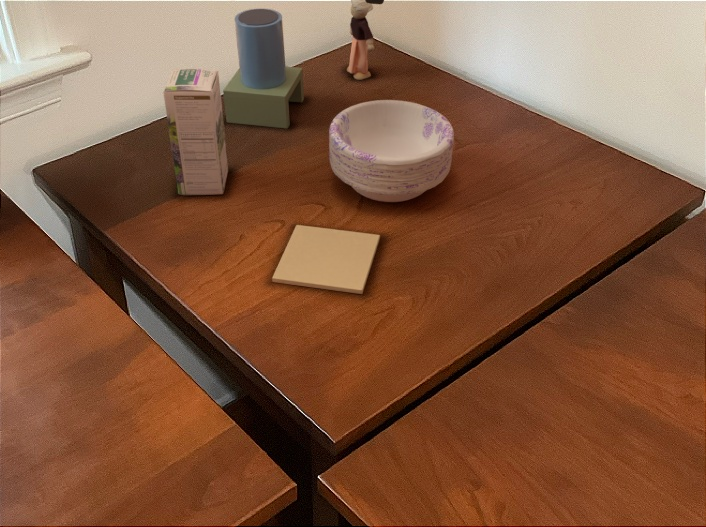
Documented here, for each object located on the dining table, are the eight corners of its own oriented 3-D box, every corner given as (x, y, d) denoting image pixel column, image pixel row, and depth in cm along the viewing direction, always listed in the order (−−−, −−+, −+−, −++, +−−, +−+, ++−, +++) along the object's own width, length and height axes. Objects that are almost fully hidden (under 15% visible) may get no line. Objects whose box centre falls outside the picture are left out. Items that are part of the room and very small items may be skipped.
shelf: (226, 122, 116) (222, 90, 113) (246, 93, 123) (243, 62, 120) (287, 128, 115) (285, 96, 112) (304, 99, 122) (302, 67, 119)
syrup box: (185, 171, 106) (168, 67, 97) (230, 170, 106) (218, 67, 97) (178, 196, 102) (160, 90, 93) (225, 195, 102) (212, 89, 93)
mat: (272, 282, 89) (271, 278, 88) (296, 228, 96) (296, 224, 96) (362, 294, 87) (362, 290, 87) (380, 238, 95) (380, 234, 94)
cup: (234, 87, 114) (227, 24, 108) (249, 67, 119) (243, 6, 113) (278, 91, 113) (274, 28, 107) (291, 71, 118) (287, 9, 112)
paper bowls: (475, 187, 103) (480, 132, 98) (381, 232, 96) (381, 174, 91) (397, 139, 112) (399, 86, 107) (306, 176, 105) (303, 121, 100)
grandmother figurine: (336, 68, 129) (334, -11, 121) (356, 62, 131) (355, -16, 123) (364, 87, 124) (364, 5, 116) (384, 80, 126) (385, -1, 118)
